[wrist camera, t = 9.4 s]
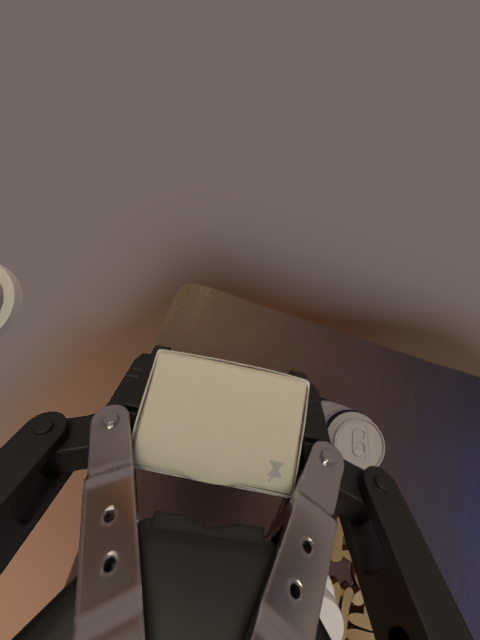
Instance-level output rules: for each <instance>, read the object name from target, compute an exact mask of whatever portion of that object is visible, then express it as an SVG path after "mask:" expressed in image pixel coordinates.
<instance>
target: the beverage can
mask: <svg viewBox="0 0 480 640" xmlns="http://www.w3.org/2000/svg"><path fill="white" fill-rule="evenodd" d="M320 400H321V405H322V408H323V412H324V416H325V420H326V425H327V429H328V433H329V437H330V441H331V444H332V445H333V446H335V447H336V448H337V449H338V450H339V452H340V453H341V455H342V457H343V459H345V460H346V461H348V462H350V463H352V464H354V465H356V466H358V467H360V468H362V469H364V470H365V469H366V468H367V467H369V466H377V467H378V466H379V465H380V463H381V462H382V459H383V457H384V453H385V443H384V438H383V436H382V433H381V432H380V430H379V428H378V427H377V426H376V425H375V424H374V423H373V422H372V420H371V419H370V418H369V417H367V416H366V415H364V414H363V413H360V412H358V411H355V410H353V409H350V408H347V407H345V406H342V405H339V404H337V403H334V402H331V401H329V400H326V399H324V398H321V397H320Z"/></svg>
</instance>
